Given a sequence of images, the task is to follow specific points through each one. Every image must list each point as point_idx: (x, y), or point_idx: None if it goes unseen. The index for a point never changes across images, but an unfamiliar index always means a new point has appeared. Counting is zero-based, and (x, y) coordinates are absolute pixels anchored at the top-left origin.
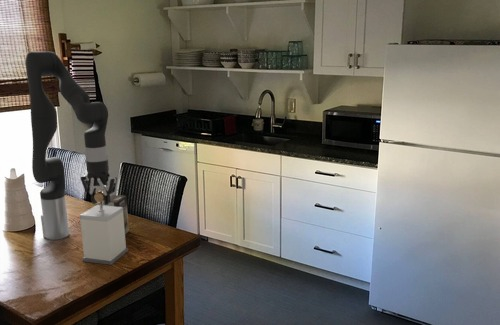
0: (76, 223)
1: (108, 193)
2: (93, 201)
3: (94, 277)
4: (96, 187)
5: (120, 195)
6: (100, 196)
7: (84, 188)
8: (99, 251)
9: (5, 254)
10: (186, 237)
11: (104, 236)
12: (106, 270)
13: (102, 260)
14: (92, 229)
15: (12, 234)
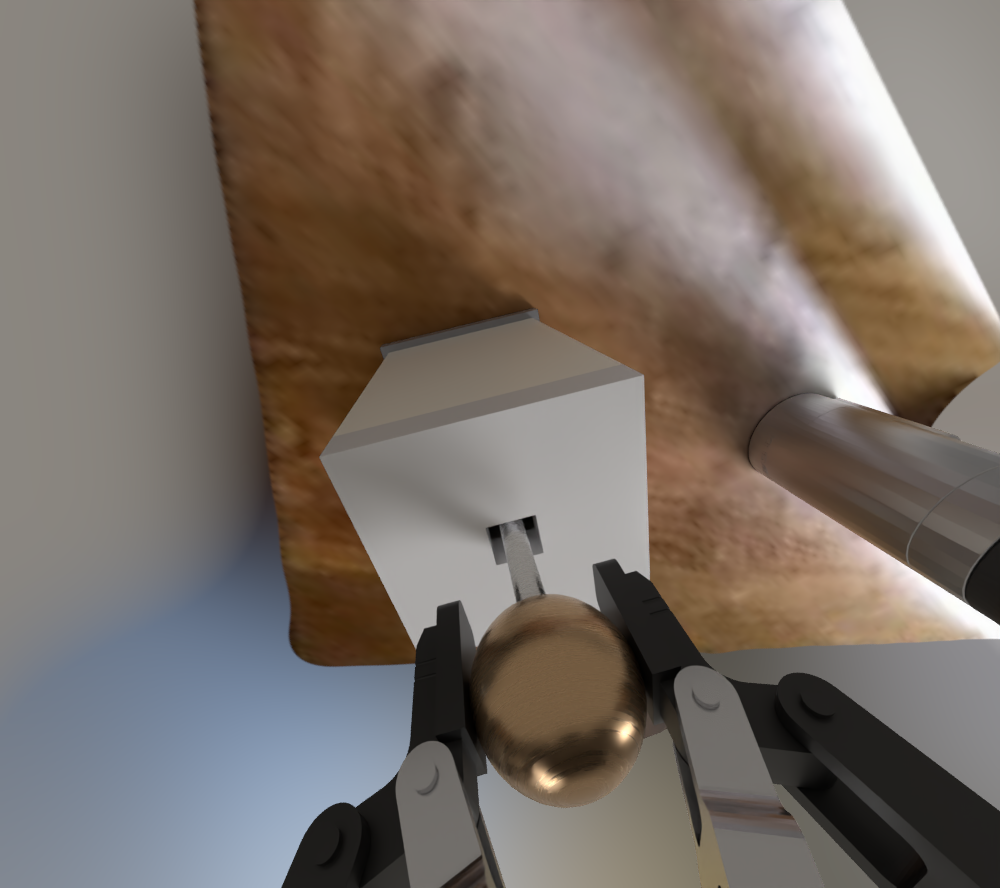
0: (776, 537)
1: (388, 804)
2: (609, 581)
3: (339, 190)
4: (696, 846)
5: (644, 737)
6: (500, 688)
7: (898, 741)
8: (445, 347)
9: (926, 182)
10: (325, 644)
11: (395, 382)
12: (353, 287)
13: (428, 337)
14: (489, 370)
15: (977, 357)
